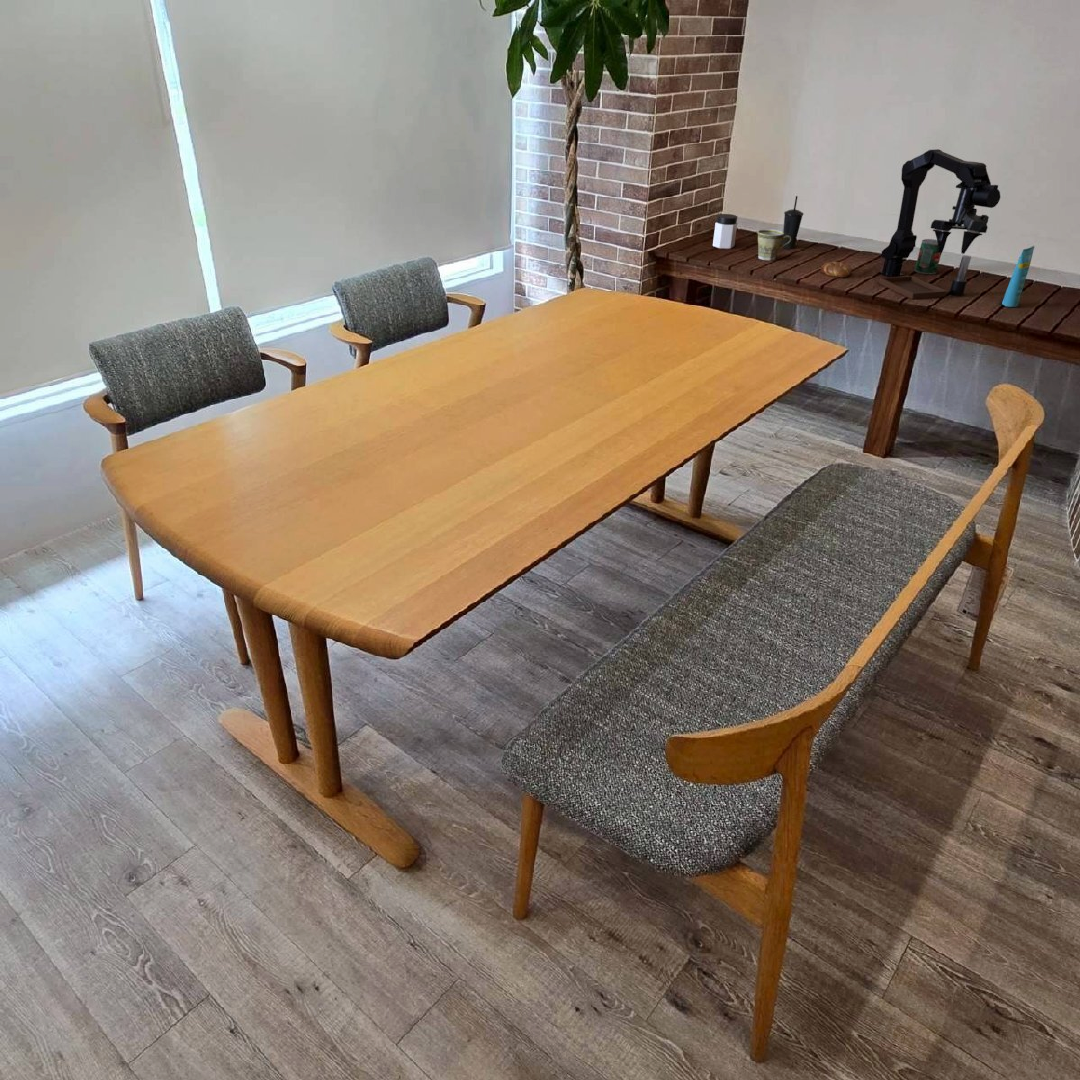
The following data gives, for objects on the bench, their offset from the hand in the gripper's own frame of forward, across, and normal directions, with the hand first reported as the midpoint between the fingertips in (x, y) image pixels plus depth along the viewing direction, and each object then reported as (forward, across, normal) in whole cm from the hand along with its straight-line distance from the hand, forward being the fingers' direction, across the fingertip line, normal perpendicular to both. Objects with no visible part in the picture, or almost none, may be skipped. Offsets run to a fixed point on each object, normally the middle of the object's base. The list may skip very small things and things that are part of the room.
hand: (951, 253), depth 285 cm
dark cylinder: (+14, +7, +1) cm, 16 cm away
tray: (+14, -5, +9) cm, 17 cm away
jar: (+12, -44, +80) cm, 92 cm away
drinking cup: (+10, -18, +73) cm, 76 cm away
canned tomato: (+11, +16, +28) cm, 34 cm away
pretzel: (+14, -20, +33) cm, 41 cm away
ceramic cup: (+13, -34, +58) cm, 68 cm away
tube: (+14, +17, -14) cm, 27 cm away
